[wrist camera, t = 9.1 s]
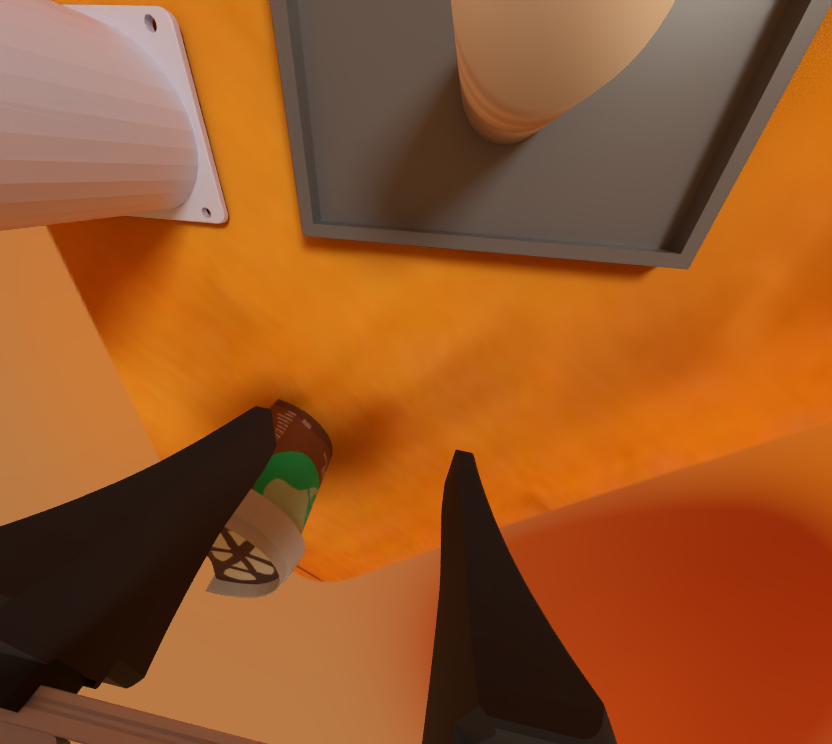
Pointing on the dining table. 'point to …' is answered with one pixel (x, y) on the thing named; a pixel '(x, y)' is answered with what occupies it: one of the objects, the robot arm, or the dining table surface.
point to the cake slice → (273, 510)
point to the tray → (540, 153)
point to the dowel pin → (543, 57)
